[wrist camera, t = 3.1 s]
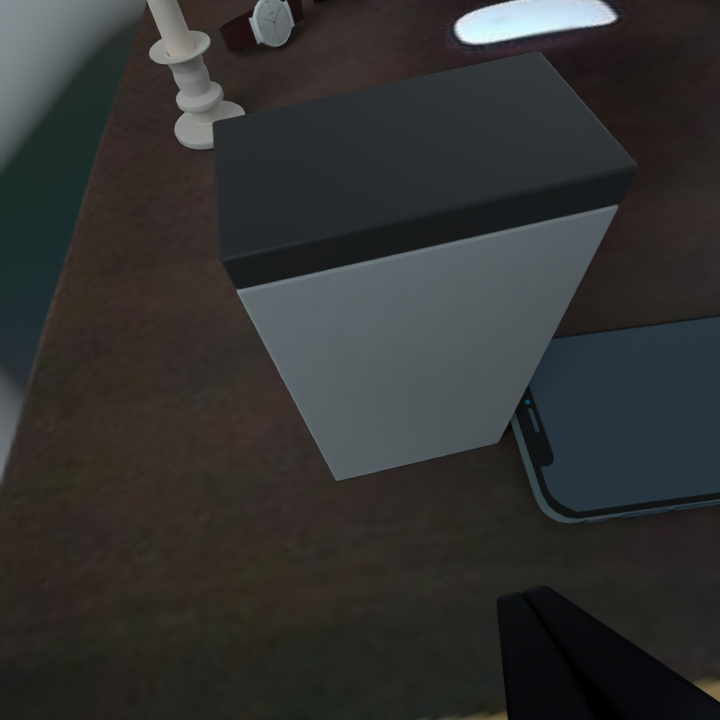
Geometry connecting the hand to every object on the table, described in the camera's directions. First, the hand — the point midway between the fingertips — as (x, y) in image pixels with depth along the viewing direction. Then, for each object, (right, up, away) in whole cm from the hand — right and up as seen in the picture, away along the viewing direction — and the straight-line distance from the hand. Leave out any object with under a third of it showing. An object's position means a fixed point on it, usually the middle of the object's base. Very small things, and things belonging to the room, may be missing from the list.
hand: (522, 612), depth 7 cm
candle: (-13, +21, +25) cm, 36 cm away
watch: (-11, +32, +31) cm, 46 cm away
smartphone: (+11, +2, +11) cm, 16 cm away
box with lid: (-1, +1, +12) cm, 12 cm away
